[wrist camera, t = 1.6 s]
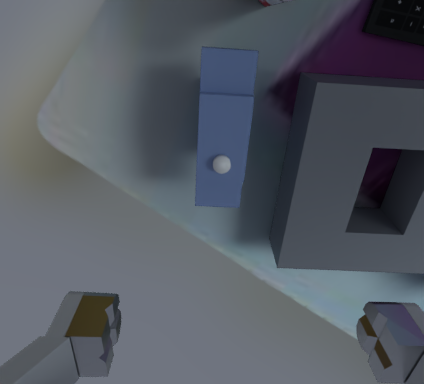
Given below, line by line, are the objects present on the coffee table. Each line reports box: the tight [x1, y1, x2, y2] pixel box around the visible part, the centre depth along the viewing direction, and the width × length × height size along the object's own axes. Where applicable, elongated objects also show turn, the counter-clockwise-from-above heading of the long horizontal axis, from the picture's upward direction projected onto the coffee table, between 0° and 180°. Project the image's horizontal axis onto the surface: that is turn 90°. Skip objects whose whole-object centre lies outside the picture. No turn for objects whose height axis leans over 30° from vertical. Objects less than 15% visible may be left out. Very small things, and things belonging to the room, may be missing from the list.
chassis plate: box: [269, 72, 424, 274], centre depth 31 cm, size 18×19×5 cm
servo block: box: [195, 47, 259, 208], centre depth 27 cm, size 4×13×8 cm, turn 176°
